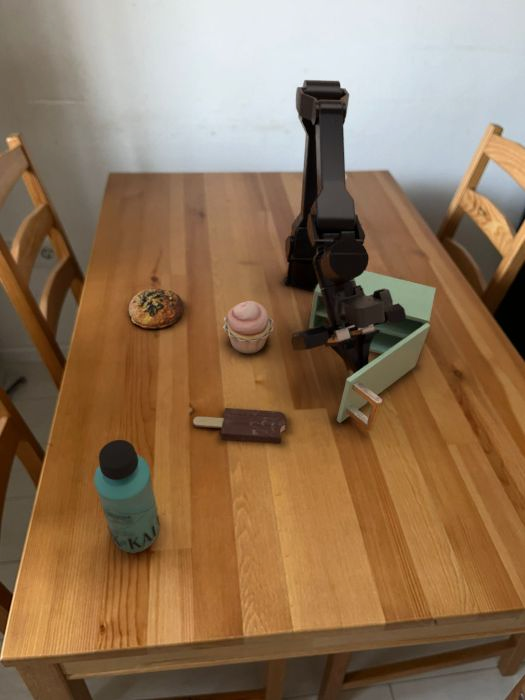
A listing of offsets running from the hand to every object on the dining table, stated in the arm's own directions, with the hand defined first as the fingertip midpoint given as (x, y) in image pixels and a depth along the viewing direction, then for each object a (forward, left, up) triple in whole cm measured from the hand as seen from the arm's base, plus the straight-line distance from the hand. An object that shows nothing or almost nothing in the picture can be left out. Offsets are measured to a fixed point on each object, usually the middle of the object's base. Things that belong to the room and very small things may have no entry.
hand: (362, 377), depth 83 cm
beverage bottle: (-23, -34, -7) cm, 41 cm away
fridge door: (+5, +3, -6) cm, 9 cm away
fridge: (-2, +19, -7) cm, 20 cm away
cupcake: (-23, +7, -7) cm, 24 cm away
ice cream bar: (-17, -12, -7) cm, 22 cm away
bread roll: (-43, +8, -7) cm, 44 cm away
